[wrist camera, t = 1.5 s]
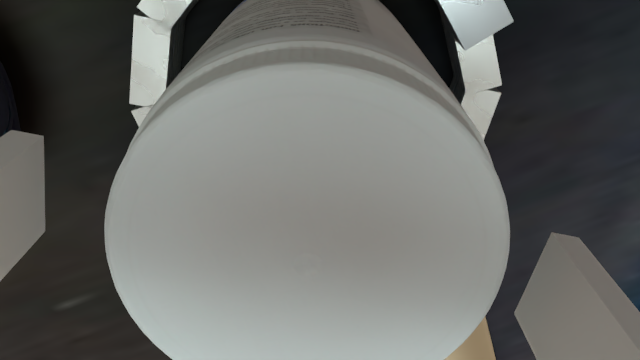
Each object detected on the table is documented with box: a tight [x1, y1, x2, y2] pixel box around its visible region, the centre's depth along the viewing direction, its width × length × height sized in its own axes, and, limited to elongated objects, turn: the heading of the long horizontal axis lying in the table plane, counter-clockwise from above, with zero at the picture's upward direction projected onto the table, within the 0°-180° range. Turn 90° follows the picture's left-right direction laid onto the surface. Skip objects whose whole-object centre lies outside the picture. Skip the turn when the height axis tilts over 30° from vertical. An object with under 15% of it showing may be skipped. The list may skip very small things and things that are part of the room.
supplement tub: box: [104, 0, 510, 360], centre depth 19 cm, size 10×10×15 cm
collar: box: [129, 0, 514, 141], centre depth 23 cm, size 16×16×4 cm
